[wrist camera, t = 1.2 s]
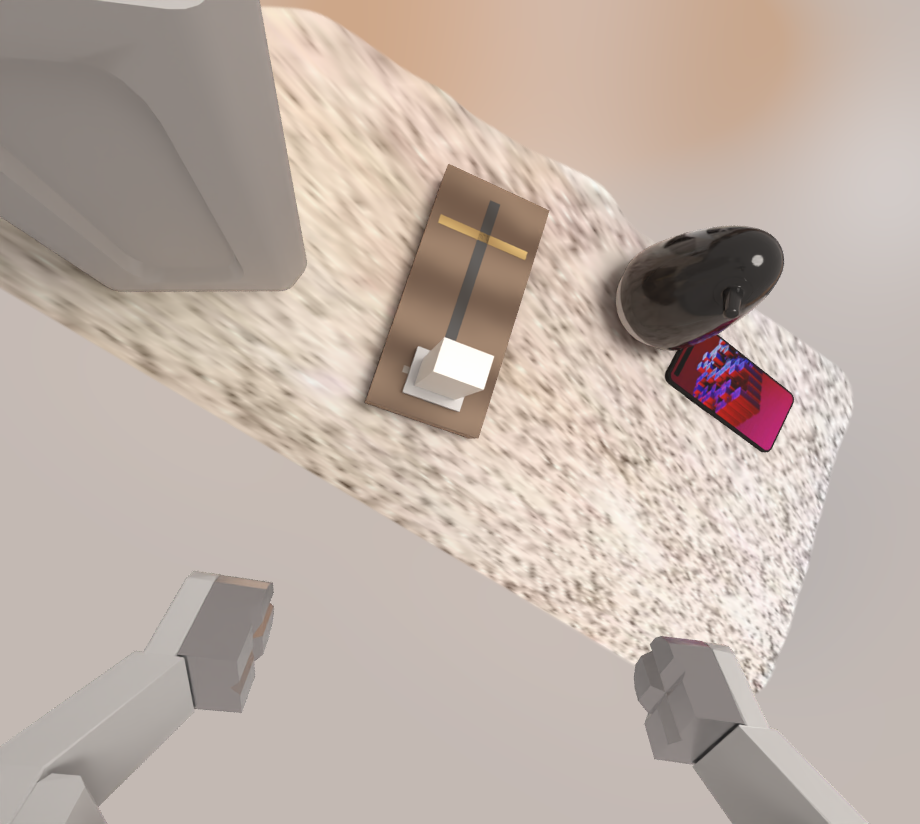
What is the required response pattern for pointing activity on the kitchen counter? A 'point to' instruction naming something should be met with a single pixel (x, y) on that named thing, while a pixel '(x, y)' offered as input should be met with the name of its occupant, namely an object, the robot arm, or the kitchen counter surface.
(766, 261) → the pump dispenser
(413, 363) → the fader tab
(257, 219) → the grey box
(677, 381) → the smartphone
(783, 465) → the kitchen counter surface
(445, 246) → the board
